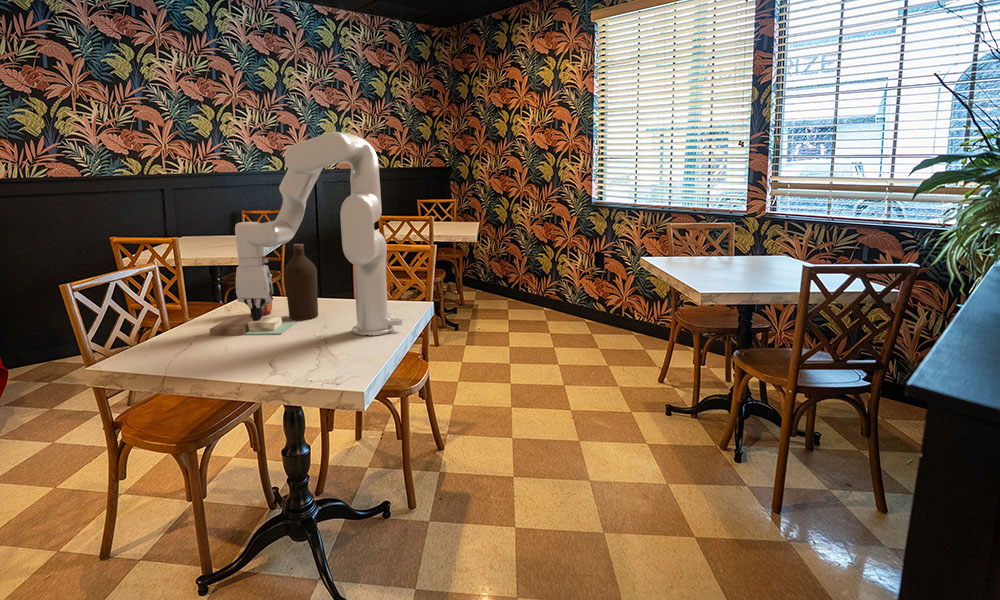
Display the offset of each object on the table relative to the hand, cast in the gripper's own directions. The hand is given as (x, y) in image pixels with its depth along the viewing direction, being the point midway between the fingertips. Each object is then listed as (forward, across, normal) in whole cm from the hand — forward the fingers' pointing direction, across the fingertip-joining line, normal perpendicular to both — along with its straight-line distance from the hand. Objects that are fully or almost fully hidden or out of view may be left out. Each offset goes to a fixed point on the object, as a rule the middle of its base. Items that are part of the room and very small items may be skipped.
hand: (257, 319), depth 188 cm
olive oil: (+3, -10, -15) cm, 18 cm away
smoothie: (+3, +6, -20) cm, 21 cm away
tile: (+1, -2, 0) cm, 3 cm away
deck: (+3, +7, 0) cm, 8 cm away
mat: (+3, -4, 0) cm, 5 cm away
